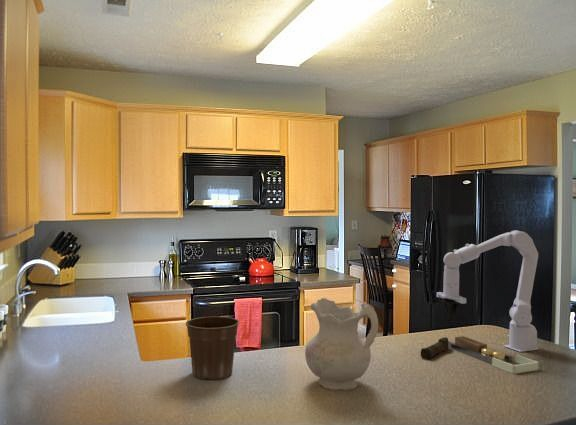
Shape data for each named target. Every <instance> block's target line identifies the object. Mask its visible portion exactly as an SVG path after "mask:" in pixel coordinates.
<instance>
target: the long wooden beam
mask: <svg viewBox="0 0 576 425" xmlns="http://www.w3.org/2000/svg"><path fill="white" fill-rule="evenodd" d="M454 343H455V344H458V345H461V346H464V347H466V348H469V349H472V350H474V351H477V352H480V353H481V348H487V347H488V344H486V343H484V342H481V341H478V340H475V339H472V338H469V337H466V336H464V335H462V336H456V337H454Z"/></svg>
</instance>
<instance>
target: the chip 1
mask: <svg viewBox="0 0 576 425" xmlns="http://www.w3.org/2000/svg"><path fill="white" fill-rule="evenodd" d="M494 350H495V349H494V348H489V347H488V348H481V353H483V354H485V355H488V356H491V357H492V352H493V351H494Z"/></svg>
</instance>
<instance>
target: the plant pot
mask: <svg viewBox="0 0 576 425" xmlns="http://www.w3.org/2000/svg"><path fill="white" fill-rule="evenodd" d="M239 324H240V320H239V319H237V318H233V317H230V316H201V317H196V318H192V319H189V320H187V321H186V322H185V326H186V328H187V335H188V338H189V346H190V359H191V360H190V362H191V370H192V372H191V374H192V376H193V377H195V378H197V379H199V380H205V379H209V380H211V381H215V380H222V379H225V378H226V379H227V378H228V377H229V376H231V375H232V374H233V370H234V369H233V368H234V356H235V346H236V336H237V334H238V327H239Z"/></svg>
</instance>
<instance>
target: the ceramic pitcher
mask: <svg viewBox="0 0 576 425" xmlns="http://www.w3.org/2000/svg"><path fill="white" fill-rule="evenodd" d="M310 309H311V310H312V312H314V313H315V315H316V318H317V320H318V324H319V327H318V328H319V330H318V332H317V333H316V335H314V336H313V337H312V338H311V339H309V340H308V341H307V343H306V345H305V352H304V354H305V361H306V364H307V366H308V369H310V371H311V372H312V374H314V376H316V377H318V378H319V379H318V384H319V386H320V387H321V388H325V389H327V390H329V391H345V390H346V391H348V390H354V389H355V388H356V387H358V386H359V384H358V382H357V381H356V380H358V379H360V378H362V376H363V375H364V374H365V373H366V371H367V370H368V368H369V366H370V364H371V358H372V357H371V345H373V343H374V342H375V339H376V337H377V335H378V332H379V318H378V315H377V312H376V311H375V307H374V306H373V303H372V304H371V303H363V304H361V309H360V311H359V312H356V311H354V310H353V309H352V308H351V306H345V305H344V306H341V305H340V306H338V305H337V304H336V301H334V300H331V299H328V298H327V297H326V298H325V297H324V298H321V299H318V300H317V301H316V302H315V303H314V302H313V303H311V305H310ZM363 318H368V319H369V320H370V329H369V331H368V334H367V336H366V338H365V340H364V339H363V338H362V337H361V336H360V335H359V333H358V332H359V331H358V328H359V321H360V320H361V319H363Z"/></svg>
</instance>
